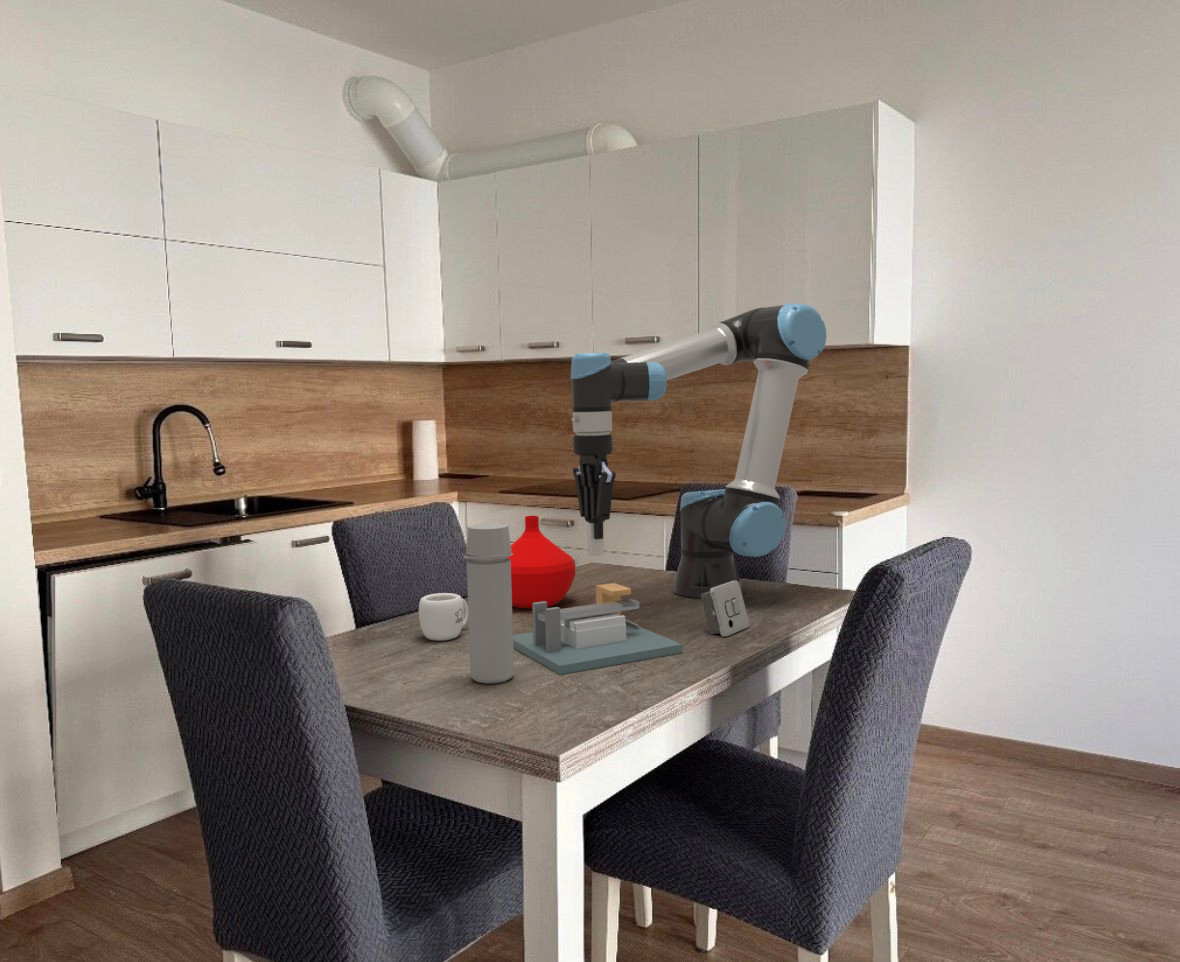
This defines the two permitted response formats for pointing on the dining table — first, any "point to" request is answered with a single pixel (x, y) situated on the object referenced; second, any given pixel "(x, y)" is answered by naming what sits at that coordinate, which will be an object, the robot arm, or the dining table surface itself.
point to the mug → (442, 615)
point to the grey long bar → (594, 609)
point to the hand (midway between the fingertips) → (595, 554)
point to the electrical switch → (725, 609)
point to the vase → (538, 568)
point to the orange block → (610, 593)
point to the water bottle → (490, 603)
